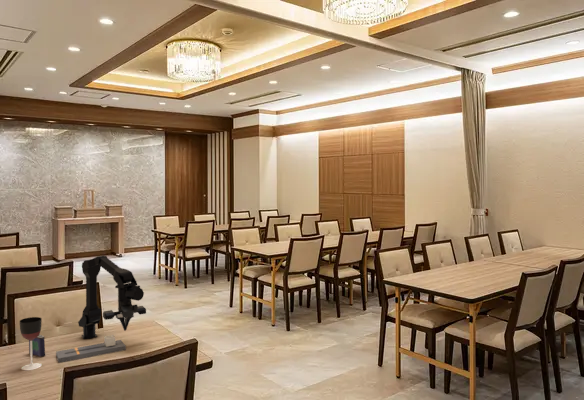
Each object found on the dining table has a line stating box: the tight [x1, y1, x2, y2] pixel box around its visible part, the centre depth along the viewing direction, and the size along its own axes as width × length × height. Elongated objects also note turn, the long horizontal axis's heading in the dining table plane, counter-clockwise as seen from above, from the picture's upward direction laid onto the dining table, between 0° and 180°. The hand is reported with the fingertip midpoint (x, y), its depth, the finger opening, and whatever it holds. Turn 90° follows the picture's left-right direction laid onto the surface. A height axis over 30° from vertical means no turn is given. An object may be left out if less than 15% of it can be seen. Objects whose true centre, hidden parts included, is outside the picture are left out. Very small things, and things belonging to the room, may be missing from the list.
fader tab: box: [103, 334, 116, 347], centre depth 212 cm, size 4×4×4 cm
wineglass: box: [19, 316, 43, 371], centre depth 191 cm, size 8×9×20 cm
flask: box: [28, 333, 46, 358], centre depth 205 cm, size 9×3×11 cm, turn 65°
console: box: [55, 339, 127, 364], centre depth 207 cm, size 10×28×2 cm, turn 123°
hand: (125, 330), depth 215 cm, fingers closed
